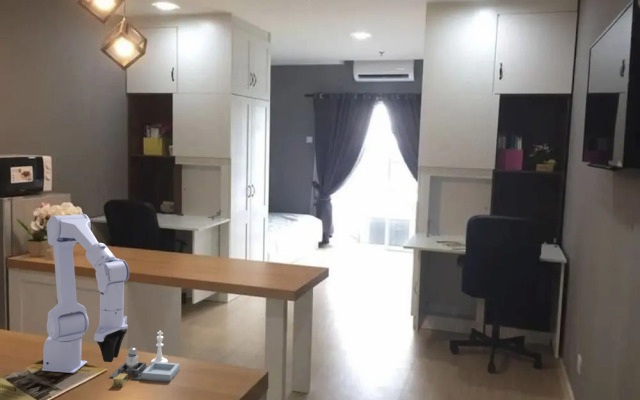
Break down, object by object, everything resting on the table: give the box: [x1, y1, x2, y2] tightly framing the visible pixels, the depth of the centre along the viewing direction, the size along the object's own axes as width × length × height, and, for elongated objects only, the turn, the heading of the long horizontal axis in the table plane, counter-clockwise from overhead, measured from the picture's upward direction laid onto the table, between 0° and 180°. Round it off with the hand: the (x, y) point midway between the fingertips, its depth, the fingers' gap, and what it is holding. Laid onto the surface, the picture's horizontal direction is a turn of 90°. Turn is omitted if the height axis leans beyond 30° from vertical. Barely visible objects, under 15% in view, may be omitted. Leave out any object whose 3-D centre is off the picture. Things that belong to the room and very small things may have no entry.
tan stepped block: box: [112, 372, 129, 388], centre depth 148 cm, size 3×4×2 cm
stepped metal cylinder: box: [125, 346, 139, 376], centre depth 155 cm, size 3×3×7 cm
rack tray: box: [141, 362, 181, 383], centre depth 155 cm, size 8×8×2 cm
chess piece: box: [150, 330, 169, 364], centre depth 163 cm, size 5×5×10 cm
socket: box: [109, 361, 149, 381], centre depth 156 cm, size 9×9×2 cm
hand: (110, 359), depth 141 cm, fingers open, 2 cm apart
